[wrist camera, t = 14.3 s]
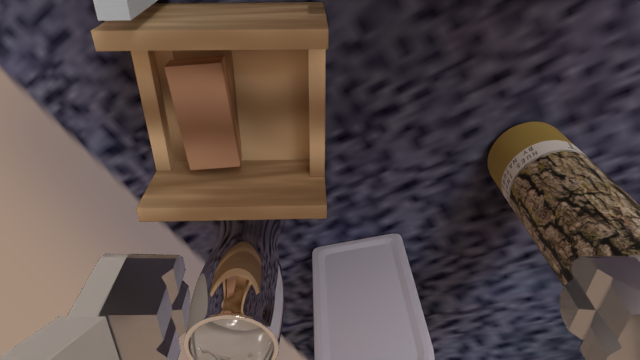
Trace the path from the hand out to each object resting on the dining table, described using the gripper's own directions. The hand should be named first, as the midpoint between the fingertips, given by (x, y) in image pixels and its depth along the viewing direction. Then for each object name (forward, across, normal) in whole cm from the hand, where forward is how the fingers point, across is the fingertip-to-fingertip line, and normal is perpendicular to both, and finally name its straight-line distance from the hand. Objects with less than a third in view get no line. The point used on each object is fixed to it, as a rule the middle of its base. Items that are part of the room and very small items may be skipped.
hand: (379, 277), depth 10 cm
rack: (+29, +7, +8) cm, 31 cm away
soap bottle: (+29, -4, +26) cm, 39 cm away
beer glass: (+29, +7, +20) cm, 36 cm away
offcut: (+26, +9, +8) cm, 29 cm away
